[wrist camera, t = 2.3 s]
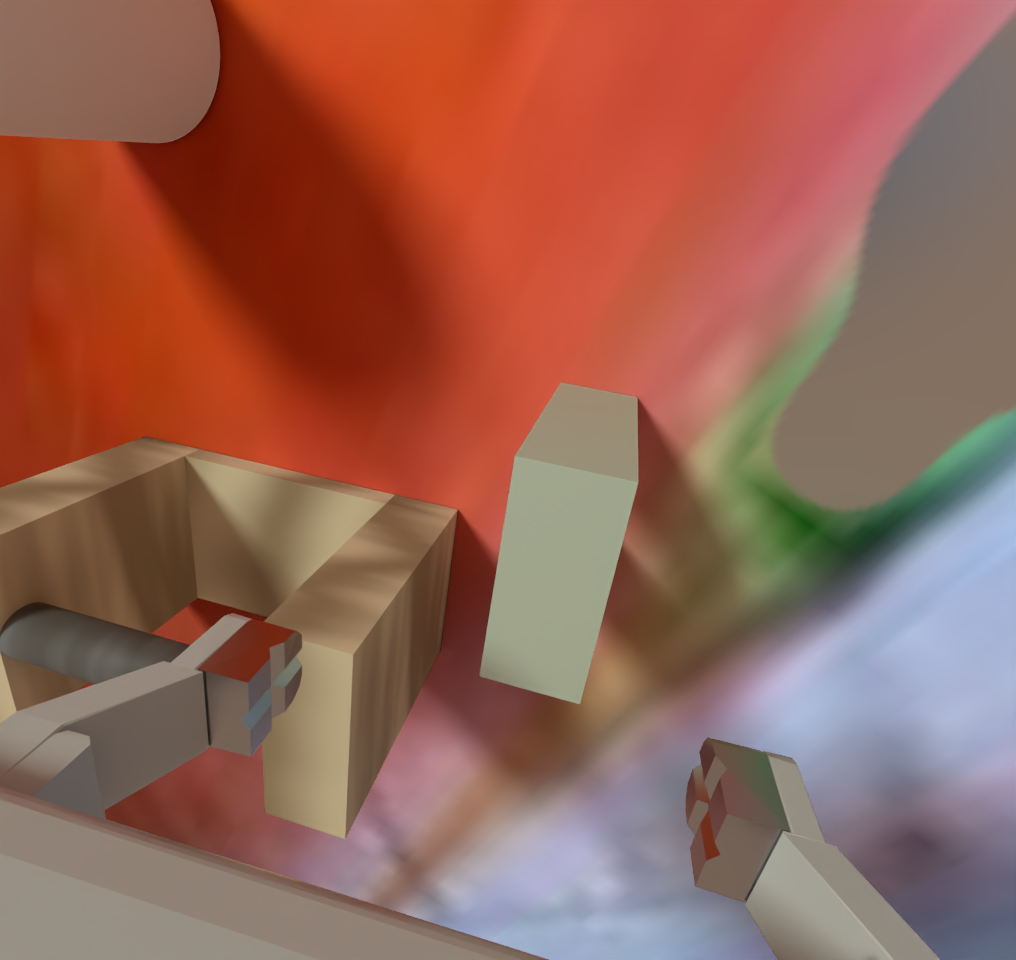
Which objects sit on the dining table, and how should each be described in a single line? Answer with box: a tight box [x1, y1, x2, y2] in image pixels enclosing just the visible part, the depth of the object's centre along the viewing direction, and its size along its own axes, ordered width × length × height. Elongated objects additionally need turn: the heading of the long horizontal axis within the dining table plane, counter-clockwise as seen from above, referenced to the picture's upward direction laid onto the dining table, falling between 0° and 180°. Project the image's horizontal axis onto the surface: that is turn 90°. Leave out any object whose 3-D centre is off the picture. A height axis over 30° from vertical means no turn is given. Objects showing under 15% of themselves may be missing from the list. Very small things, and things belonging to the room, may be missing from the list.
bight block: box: [479, 382, 638, 704], centre depth 19 cm, size 3×7×9 cm, turn 171°
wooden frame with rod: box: [0, 437, 458, 839], centre depth 23 cm, size 16×8×10 cm, turn 81°
